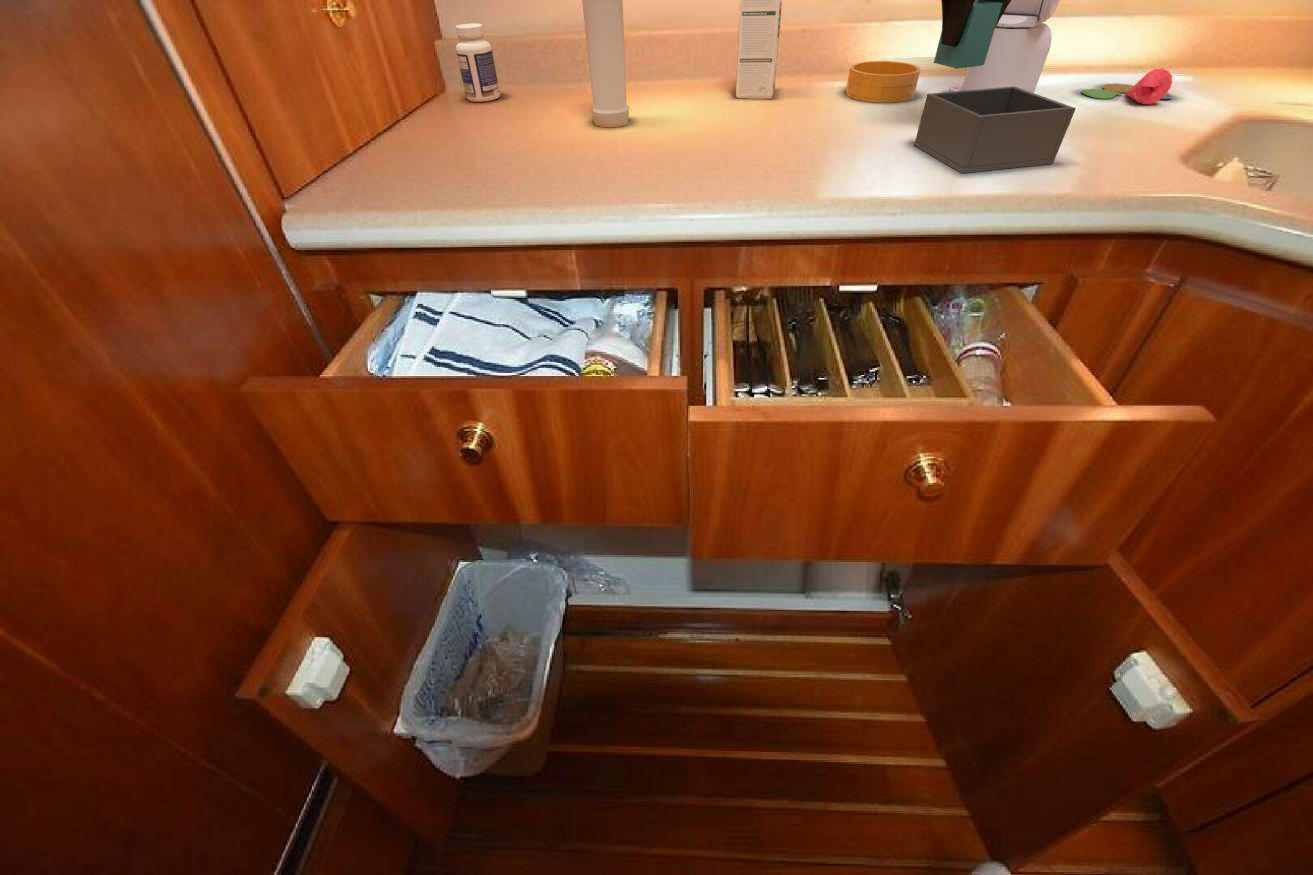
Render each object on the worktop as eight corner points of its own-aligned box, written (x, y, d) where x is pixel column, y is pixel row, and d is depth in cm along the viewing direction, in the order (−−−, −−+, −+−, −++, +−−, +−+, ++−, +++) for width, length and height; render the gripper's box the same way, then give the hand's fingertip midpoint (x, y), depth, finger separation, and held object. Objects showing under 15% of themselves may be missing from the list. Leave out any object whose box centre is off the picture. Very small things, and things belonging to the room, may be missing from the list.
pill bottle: (502, 93, 96) (489, 21, 90) (498, 101, 92) (484, 27, 86) (469, 95, 96) (454, 23, 90) (464, 103, 92) (447, 28, 86)
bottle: (615, 129, 79) (598, -125, 63) (585, 124, 82) (560, -123, 65) (636, 120, 83) (625, -125, 66) (607, 115, 85) (588, -123, 68)
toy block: (959, 59, 72) (976, -1, 68) (983, 65, 70) (1002, 2, 65) (933, 62, 71) (948, 1, 67) (957, 68, 68) (975, 5, 64)
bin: (996, 137, 73) (1014, 86, 69) (1053, 163, 65) (1076, 108, 62) (913, 145, 71) (927, 93, 68) (961, 173, 64) (979, 116, 60)
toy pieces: (1198, 103, 82) (1217, 66, 79) (1129, 110, 80) (1146, 72, 77) (1129, 83, 90) (1144, 50, 87) (1066, 89, 89) (1079, 55, 86)
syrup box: (772, 99, 89) (784, -22, 79) (733, 98, 90) (740, -21, 80) (774, 90, 93) (786, -26, 83) (737, 89, 94) (744, -25, 84)
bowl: (893, 84, 94) (899, 58, 91) (926, 99, 87) (933, 72, 84) (835, 89, 93) (839, 63, 90) (863, 105, 85) (869, 77, 83)
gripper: (1030, -116, 64) (986, 32, 74) (924, -113, 61) (892, 43, 70) (1087, -118, 60) (1032, 41, 69) (976, -115, 56) (933, 53, 65)
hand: (964, 43), depth 69 cm, fingers closed on toy block, 4 cm apart
